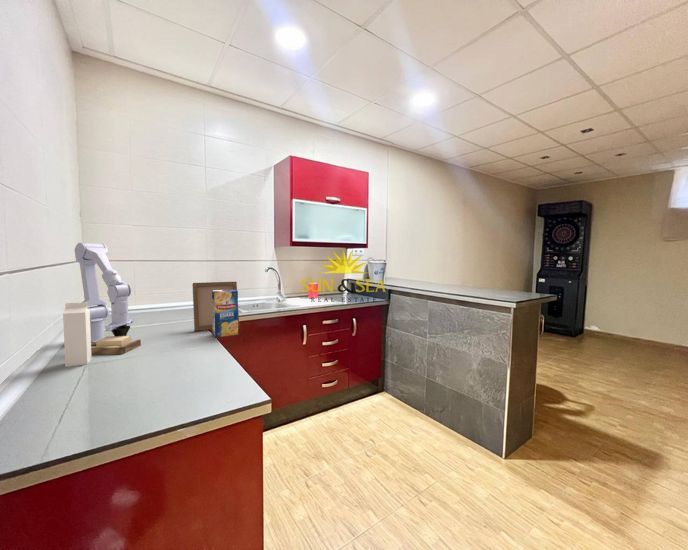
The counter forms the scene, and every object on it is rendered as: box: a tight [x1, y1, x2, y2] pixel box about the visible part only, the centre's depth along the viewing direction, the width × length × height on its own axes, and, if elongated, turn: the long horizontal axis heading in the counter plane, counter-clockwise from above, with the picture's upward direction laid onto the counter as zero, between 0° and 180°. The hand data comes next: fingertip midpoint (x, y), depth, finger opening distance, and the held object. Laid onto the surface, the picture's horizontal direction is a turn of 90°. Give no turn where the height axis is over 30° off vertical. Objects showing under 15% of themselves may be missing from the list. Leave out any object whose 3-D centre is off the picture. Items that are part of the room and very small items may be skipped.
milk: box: [62, 301, 92, 368], centre depth 106 cm, size 6×6×22 cm
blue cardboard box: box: [211, 289, 239, 338], centre depth 148 cm, size 7×11×22 cm, turn 124°
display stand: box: [91, 339, 142, 355], centre depth 122 cm, size 16×12×3 cm
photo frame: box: [192, 281, 240, 332], centre depth 162 cm, size 15×22×25 cm
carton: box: [96, 335, 132, 347], centre depth 122 cm, size 9×7×5 cm
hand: (120, 343), depth 127 cm, fingers closed
